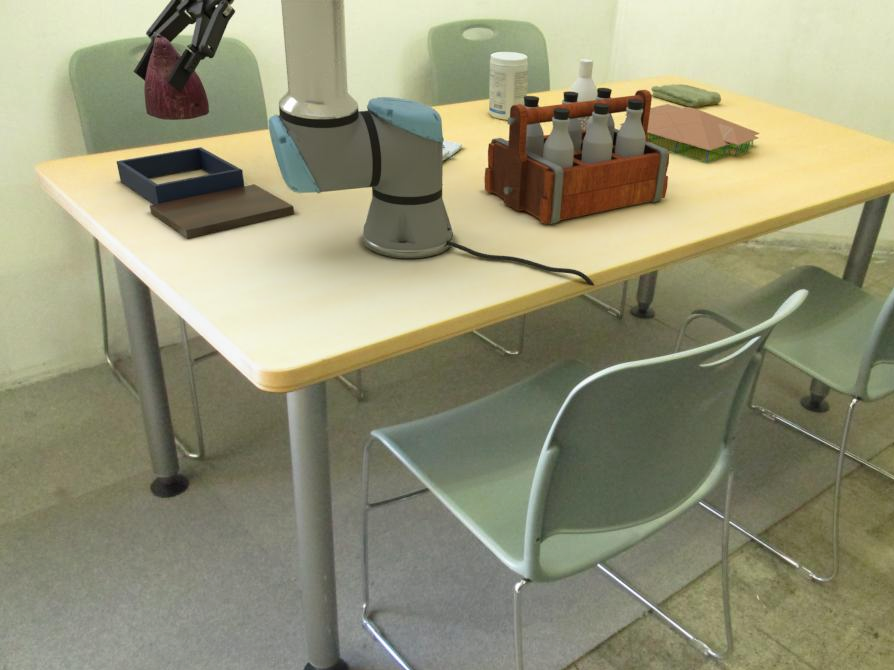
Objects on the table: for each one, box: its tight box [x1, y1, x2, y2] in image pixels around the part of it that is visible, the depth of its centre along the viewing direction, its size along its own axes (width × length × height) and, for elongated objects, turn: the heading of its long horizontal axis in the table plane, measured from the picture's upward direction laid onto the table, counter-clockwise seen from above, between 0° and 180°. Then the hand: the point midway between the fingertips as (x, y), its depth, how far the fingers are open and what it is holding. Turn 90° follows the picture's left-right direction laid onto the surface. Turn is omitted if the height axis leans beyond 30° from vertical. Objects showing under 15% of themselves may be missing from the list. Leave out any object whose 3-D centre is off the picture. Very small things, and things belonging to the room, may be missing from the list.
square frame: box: [116, 146, 245, 205], centre depth 160 cm, size 17×17×4 cm
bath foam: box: [569, 58, 598, 130], centre depth 191 cm, size 7×7×20 cm
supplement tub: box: [488, 51, 529, 121], centre depth 214 cm, size 10×10×15 cm
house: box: [619, 103, 760, 164], centre depth 207 cm, size 23×33×8 cm
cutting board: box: [149, 183, 295, 239], centre depth 151 cm, size 14×20×2 cm
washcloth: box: [650, 83, 722, 108], centre depth 244 cm, size 13×18×3 cm
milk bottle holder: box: [483, 87, 670, 225], centre depth 165 cm, size 21×35×19 cm, turn 126°
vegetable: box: [143, 34, 210, 121], centre depth 146 cm, size 10×10×15 cm
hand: (157, 81), depth 145 cm, fingers closed on vegetable, 8 cm apart
